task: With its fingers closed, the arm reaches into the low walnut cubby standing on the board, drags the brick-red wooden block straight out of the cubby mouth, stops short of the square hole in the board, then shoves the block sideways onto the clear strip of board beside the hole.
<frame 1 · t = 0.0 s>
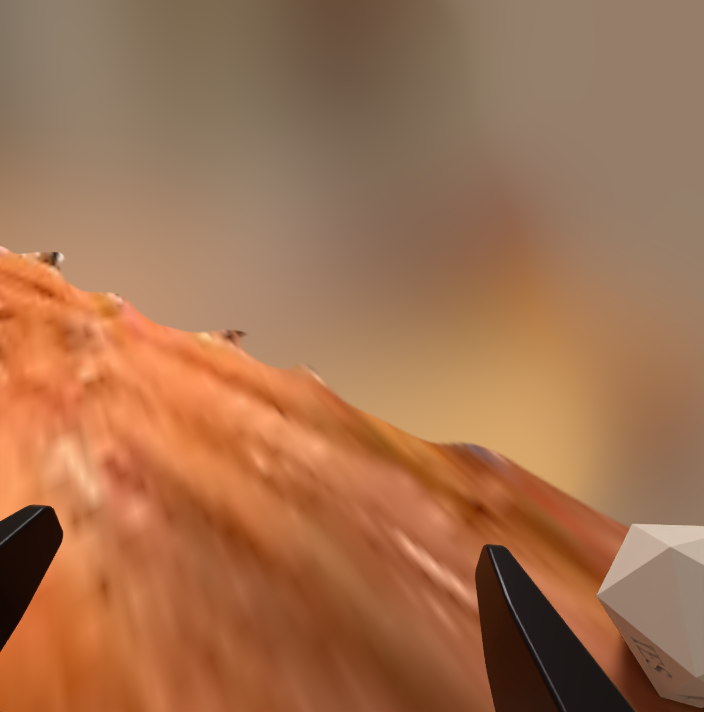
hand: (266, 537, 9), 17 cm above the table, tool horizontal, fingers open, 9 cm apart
die: (670, 654, 23), on the table
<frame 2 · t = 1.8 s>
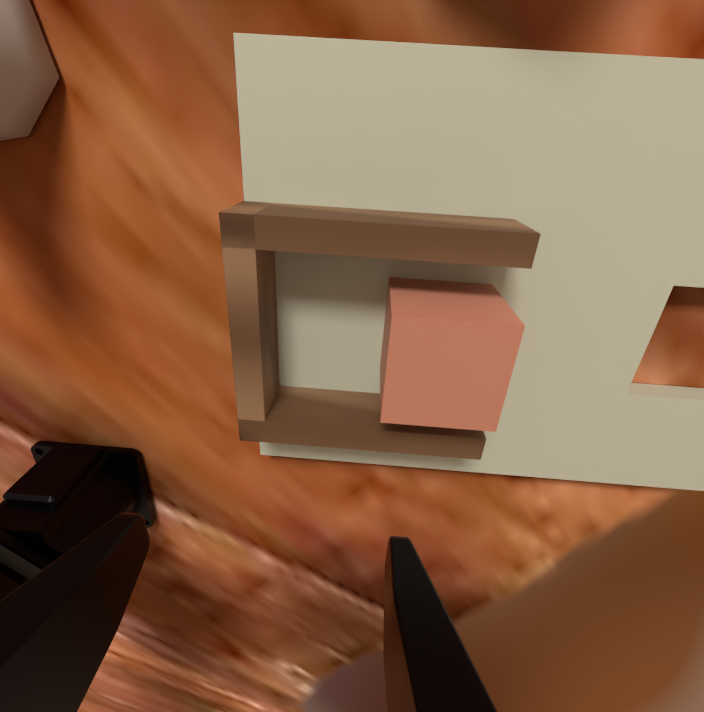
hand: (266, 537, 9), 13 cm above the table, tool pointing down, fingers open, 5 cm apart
board: (691, 337, 20), on the table
block: (432, 327, 19), point 1 cm above the table, touching board
cubby: (369, 313, 20), resting on board
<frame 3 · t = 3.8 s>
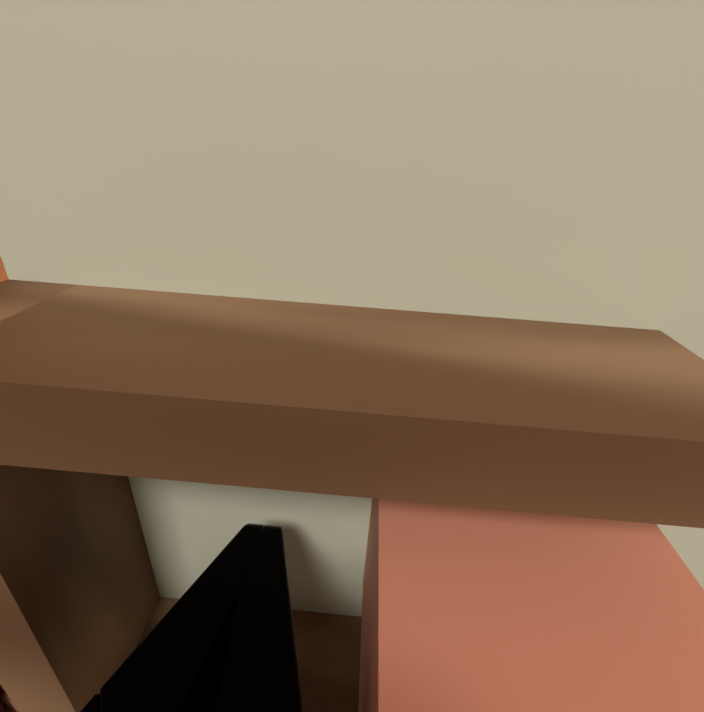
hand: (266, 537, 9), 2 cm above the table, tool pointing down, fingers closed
block: (470, 526, 9), point 1 cm above the table, touching board, gripper
cubby: (326, 474, 10), resting on board
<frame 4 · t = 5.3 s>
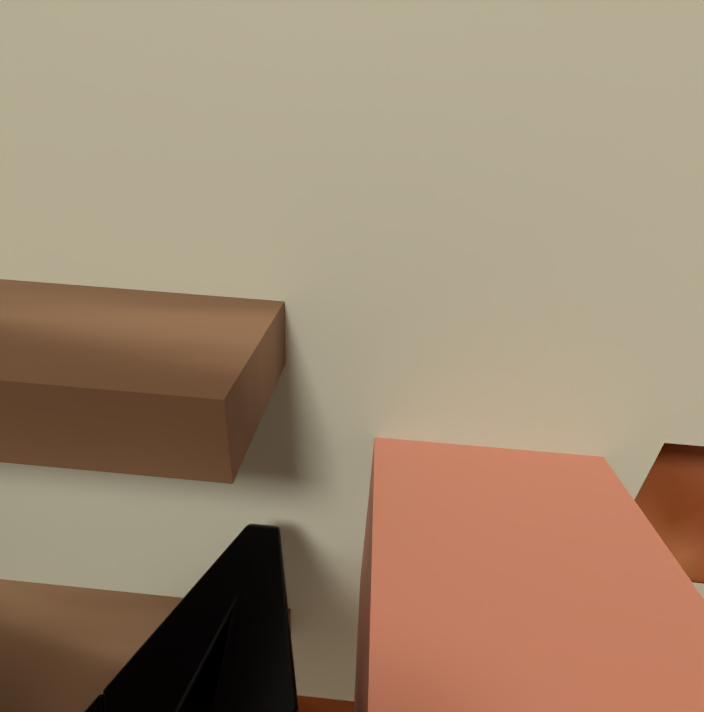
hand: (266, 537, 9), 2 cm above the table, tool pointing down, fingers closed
board: (702, 508, 10), on the table
block: (466, 525, 9), point 1 cm above the table, touching board, gripper
cubby: (86, 452, 11), resting on board
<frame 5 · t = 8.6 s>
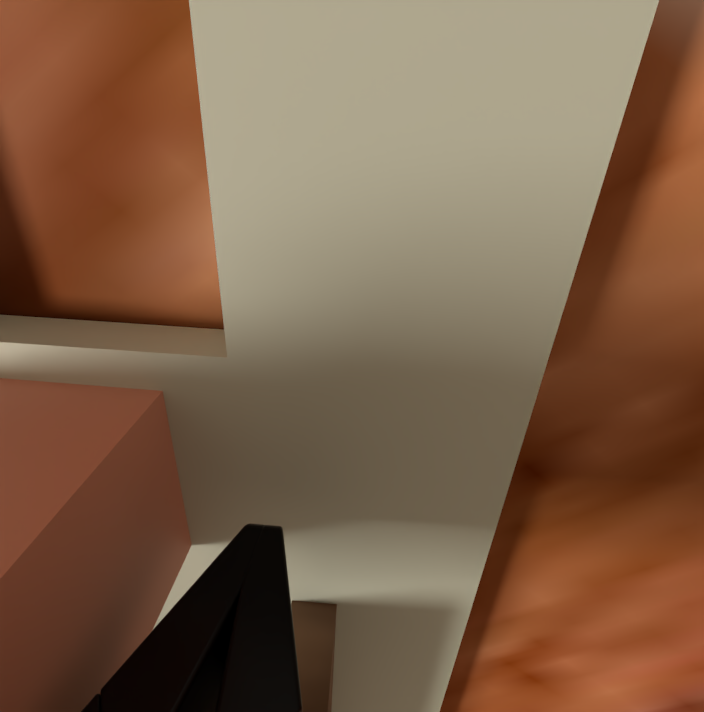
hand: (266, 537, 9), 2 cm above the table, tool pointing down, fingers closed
board: (83, 182, 7), on the table
block: (78, 468, 9), point 1 cm above the table, touching board, gripper
cubby: (195, 651, 15), resting on board
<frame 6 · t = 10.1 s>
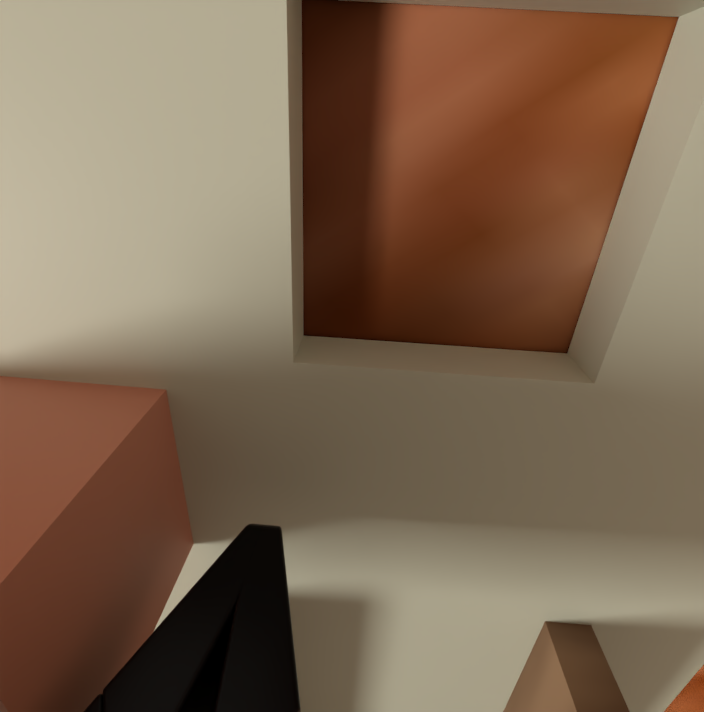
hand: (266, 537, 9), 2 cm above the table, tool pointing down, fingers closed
board: (456, 205, 7), on the table
block: (81, 467, 9), point 1 cm above the table, touching board, gripper
cubby: (382, 667, 14), resting on board
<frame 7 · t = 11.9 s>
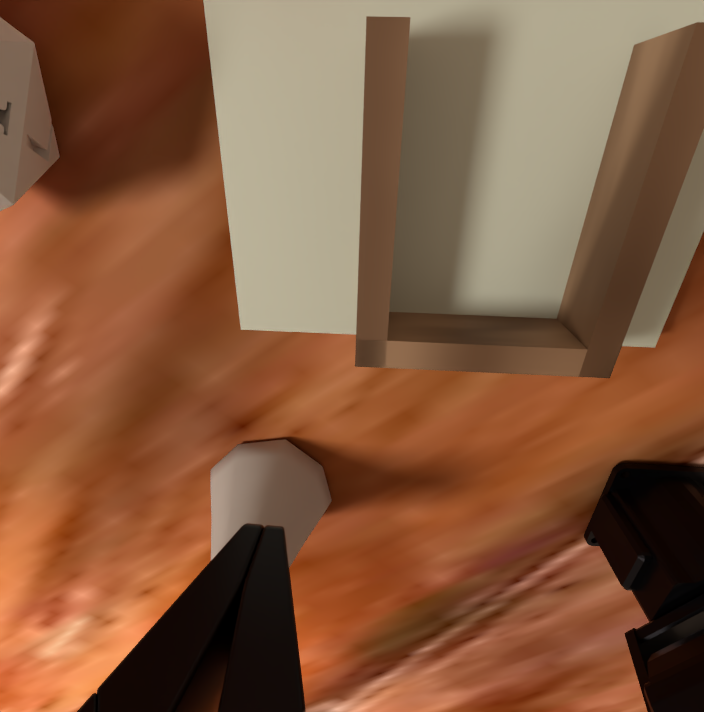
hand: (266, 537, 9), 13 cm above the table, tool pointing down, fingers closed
flask: (273, 479, 26), on the table
cubby: (481, 209, 17), resting on board
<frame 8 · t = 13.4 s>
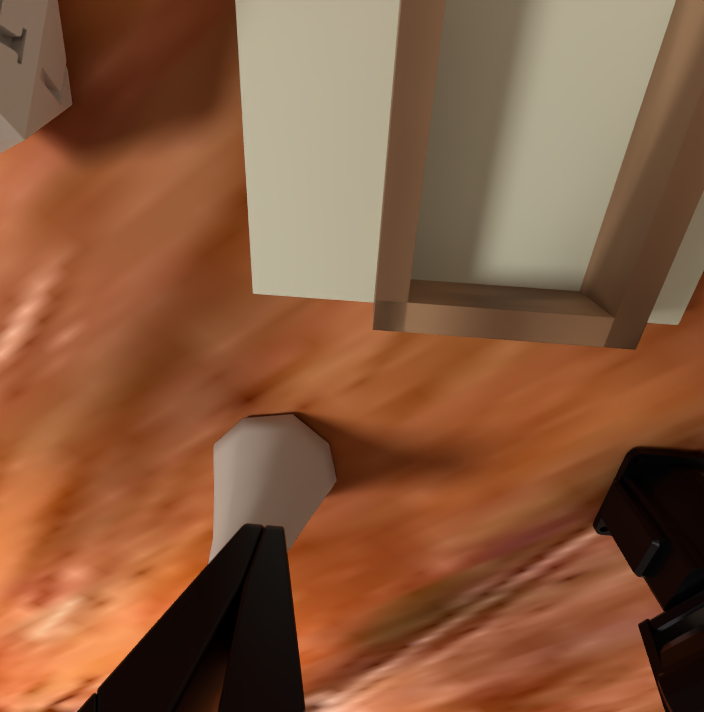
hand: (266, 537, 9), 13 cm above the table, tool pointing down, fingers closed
flask: (278, 457, 25), on the table
die: (7, 42, 16), on the table
cubby: (506, 175, 17), resting on board
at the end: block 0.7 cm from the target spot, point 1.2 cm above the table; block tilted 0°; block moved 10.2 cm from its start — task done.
